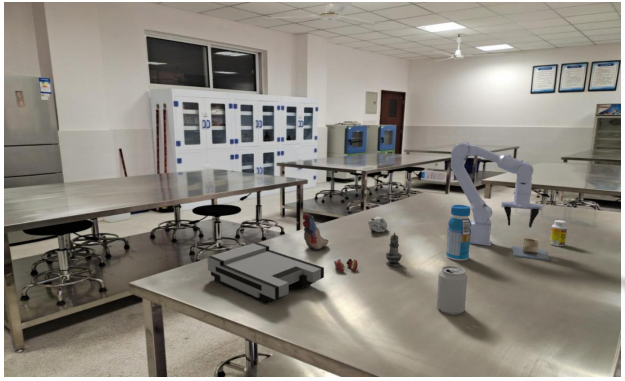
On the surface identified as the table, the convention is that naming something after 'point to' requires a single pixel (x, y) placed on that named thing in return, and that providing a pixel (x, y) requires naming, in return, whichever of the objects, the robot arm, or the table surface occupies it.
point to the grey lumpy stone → (377, 224)
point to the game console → (262, 272)
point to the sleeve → (530, 246)
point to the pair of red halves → (350, 263)
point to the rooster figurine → (312, 233)
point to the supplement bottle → (558, 233)
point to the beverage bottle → (459, 233)
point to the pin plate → (519, 253)
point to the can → (452, 290)
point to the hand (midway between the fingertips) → (519, 225)
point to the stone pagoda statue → (393, 252)
